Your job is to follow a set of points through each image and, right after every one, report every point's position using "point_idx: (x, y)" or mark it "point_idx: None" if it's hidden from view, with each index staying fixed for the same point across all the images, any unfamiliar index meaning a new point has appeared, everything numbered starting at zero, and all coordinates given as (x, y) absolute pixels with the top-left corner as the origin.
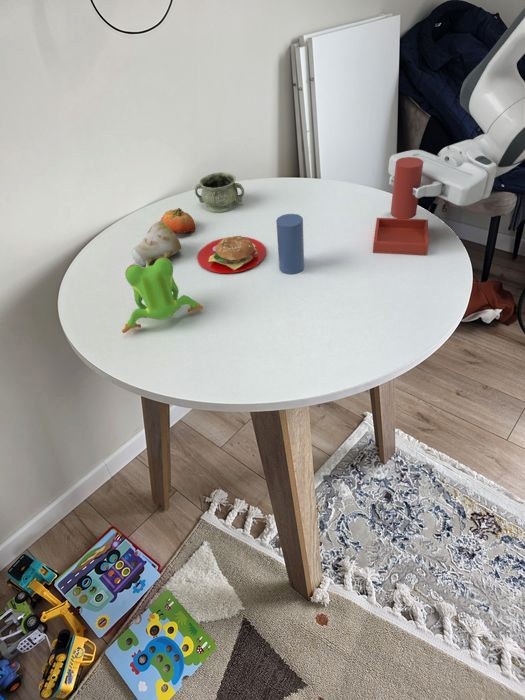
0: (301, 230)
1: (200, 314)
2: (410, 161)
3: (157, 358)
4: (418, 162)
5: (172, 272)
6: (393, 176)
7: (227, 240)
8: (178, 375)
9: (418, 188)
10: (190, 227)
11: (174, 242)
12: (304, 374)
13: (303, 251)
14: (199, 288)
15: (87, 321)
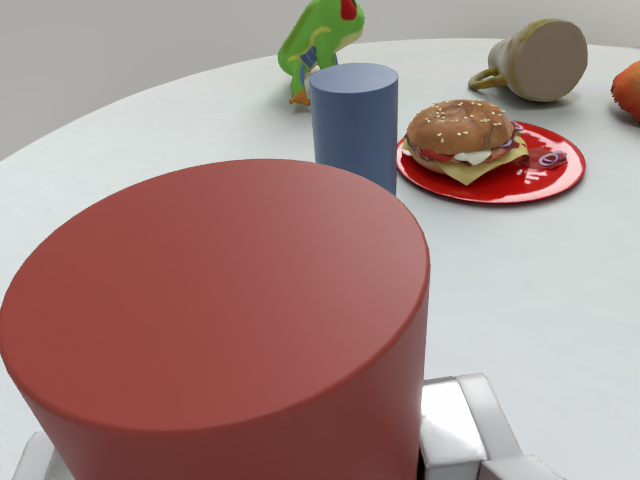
0: (318, 116)
1: (292, 112)
2: (230, 269)
3: (230, 83)
4: (102, 330)
5: (329, 24)
6: (462, 389)
7: (478, 106)
8: (179, 92)
9: (46, 435)
10: (635, 105)
11: (509, 62)
12: (31, 170)
13: None
14: None
15: (365, 50)
